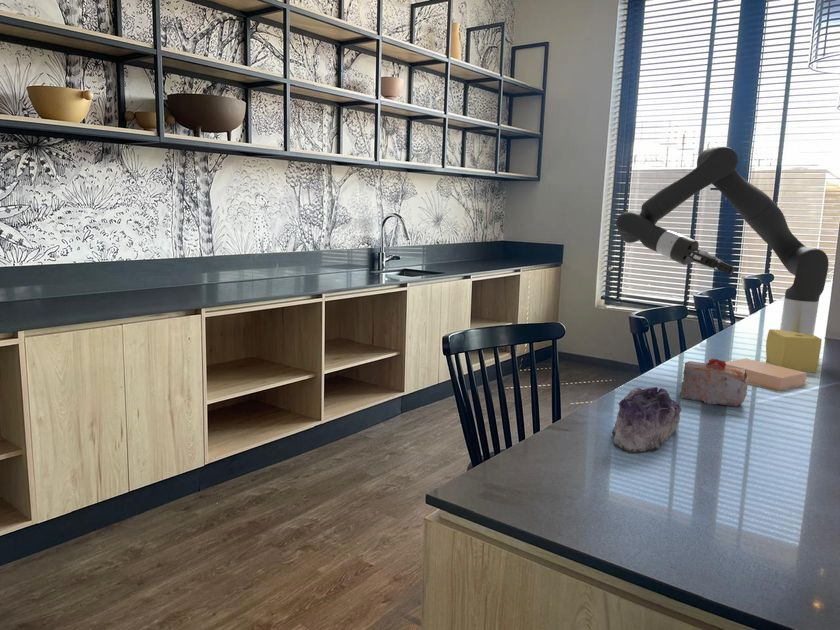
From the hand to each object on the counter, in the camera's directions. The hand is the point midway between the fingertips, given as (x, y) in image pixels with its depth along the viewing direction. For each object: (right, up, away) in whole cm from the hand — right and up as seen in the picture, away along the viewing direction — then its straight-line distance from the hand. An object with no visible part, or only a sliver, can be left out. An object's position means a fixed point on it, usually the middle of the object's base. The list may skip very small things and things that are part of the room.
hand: (732, 271), depth 174 cm
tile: (-1, -26, -2) cm, 26 cm away
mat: (+1, -29, -6) cm, 29 cm away
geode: (-43, -36, -53) cm, 77 cm away
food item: (-19, -32, -28) cm, 46 cm away
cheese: (+20, -27, +8) cm, 35 cm away
